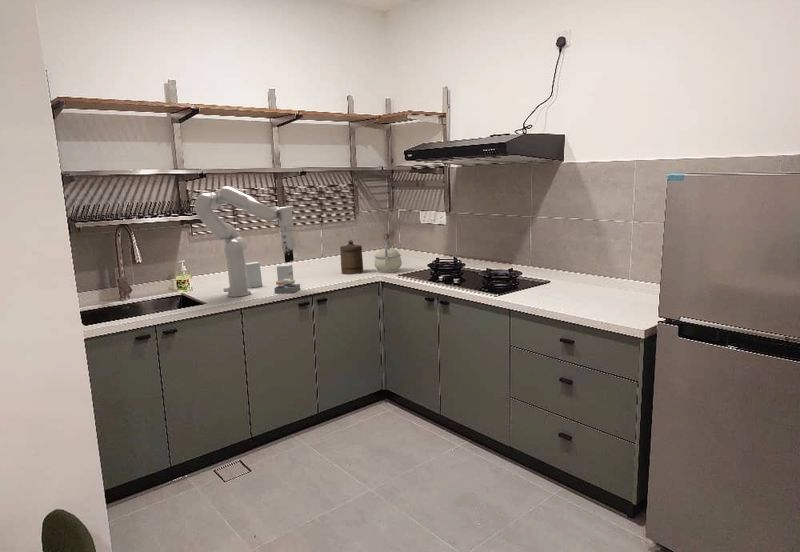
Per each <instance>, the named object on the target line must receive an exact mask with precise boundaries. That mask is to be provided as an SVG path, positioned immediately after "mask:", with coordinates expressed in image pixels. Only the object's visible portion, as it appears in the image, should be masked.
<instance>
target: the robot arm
mask: <svg viewBox="0 0 800 552" xmlns="http://www.w3.org/2000/svg"><path fill="white" fill-rule="evenodd" d="M227 204H229V205H232V206H234V207H236V208H238V209H240V210H243V211H244V212H246V213H249V214H250V215H253V216H255V217H257V218H259V219H261V220H264V221H266V222H275V221H278V224H279V232H280V237H281V241H280V242H281V249H282V251H283V255H284V262H285V263H291V262H294V261H295V259H294V249H296V243H295V234H294V220H293V219H294V218H293V210H292V209H293V208H292V207H291V206H281V207H280V206H279V207H275V206H267V205H266V204H263V203H261V202H259V201H257V200H256V199H254V197H253V196H251V195H250V194H246V193H244V192H242V191H239V190H238V189H236V188H235V187H234V186H222V187H221V188H220V189H219V190H216V191H212V192H203V193H201V194H199V195H198V196H197V197H196V199H195V202H194V210H195V214H196V216H197V217H198V218H199V219H200V221H201V223H203V224H204V226H205V227H206V228H207V229H208V230H209V232H211V234H212V235H213V236H214V238H215V239H216V240H218V241H223V242H224V243H225V244H224V254H225V258H226V259H225V260H226V267H227V274H228V283H229V286H228V288H226V287H224V288H223V292H225V293H226V292H227V297H230V298H231V297H232V298H233V297H235V298H237V297H239V298H240V297H244V296H249V295H251V293H252V291H251V290H248V289H249V287H247V278H246V268H245V263H246V260H245V256H244V253H245V252H246V250H247V248H248V247H247V246H248V245H247V244H248V243H247V242H246V240H245V239H244V238H243V236H242V235H241V234H240V232H238V231H237V229H236V228H235V227H234V226H233V225H232V224H231V223H229V222H228V223H227V222H224V221H223V220H222V219H221V218H220V217H219V215H218V214H217V213H216V212H214V210H213V209H215V208H218V207H221V206H224V205H227Z"/></svg>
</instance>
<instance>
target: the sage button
mask: <svg viewBox="0 0 800 552" xmlns="http://www.w3.org/2000/svg"><path fill="white" fill-rule="evenodd" d="M288 284H296V279H294V280H288Z"/></svg>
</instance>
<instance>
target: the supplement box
mask: <svg viewBox="0 0 800 552" xmlns="http://www.w3.org/2000/svg"><path fill="white" fill-rule="evenodd" d="M276 275H277V276H276V277H277V281H283V284H288V282H287V283H284V279H291V280H295V279H294V269H293V264H292V263H291V264H290V263H289V264H280V265H277V266H276ZM277 286H280V285H277Z"/></svg>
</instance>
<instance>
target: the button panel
mask: <svg viewBox="0 0 800 552" xmlns="http://www.w3.org/2000/svg"><path fill="white" fill-rule="evenodd" d="M273 290H274V294H275V293H278V294H294V293H296V292H298V291H299V290H301V284H300V283H294V284H282V285H280V286H278V285H276V286H275V287H274V289H273Z"/></svg>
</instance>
